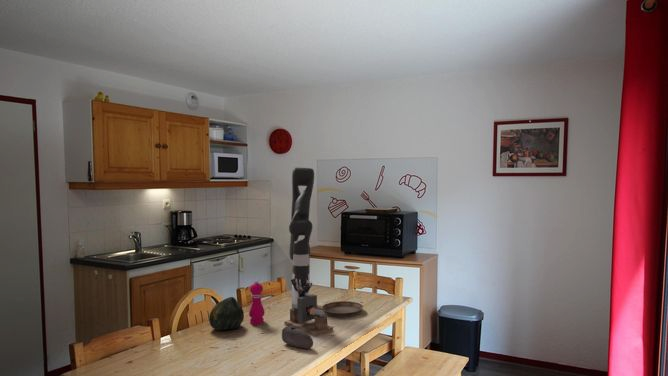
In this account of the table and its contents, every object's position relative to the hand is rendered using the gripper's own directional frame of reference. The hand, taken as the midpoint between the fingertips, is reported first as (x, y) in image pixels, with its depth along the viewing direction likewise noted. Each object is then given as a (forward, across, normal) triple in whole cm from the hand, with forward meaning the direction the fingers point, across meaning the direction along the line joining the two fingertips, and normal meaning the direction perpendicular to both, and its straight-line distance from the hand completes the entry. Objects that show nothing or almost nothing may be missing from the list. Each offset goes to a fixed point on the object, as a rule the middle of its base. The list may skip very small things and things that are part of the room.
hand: (301, 301), depth 202 cm
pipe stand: (+11, +4, 0) cm, 12 cm away
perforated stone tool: (+12, +19, -17) cm, 28 cm away
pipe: (+5, +4, 0) cm, 6 cm away
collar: (+8, +4, 0) cm, 8 cm away
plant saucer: (+12, -1, +27) cm, 30 cm away
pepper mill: (+11, -19, -12) cm, 25 cm away
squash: (+11, -22, -26) cm, 36 cm away
